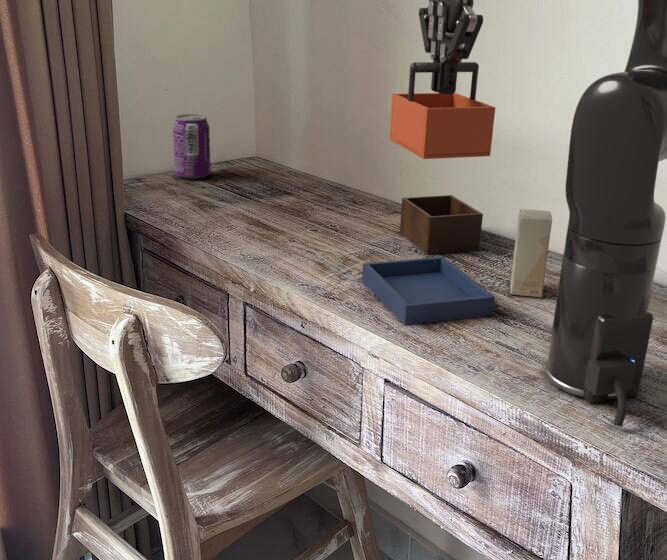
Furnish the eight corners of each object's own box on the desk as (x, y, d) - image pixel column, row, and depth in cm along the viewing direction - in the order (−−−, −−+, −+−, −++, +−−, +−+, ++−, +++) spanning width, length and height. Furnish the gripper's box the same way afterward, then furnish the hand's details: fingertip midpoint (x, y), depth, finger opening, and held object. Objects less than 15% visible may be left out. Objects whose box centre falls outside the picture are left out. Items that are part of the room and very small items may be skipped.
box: (541, 298, 111) (552, 221, 107) (509, 295, 112) (519, 218, 107) (540, 284, 116) (551, 210, 112) (509, 281, 116) (519, 207, 112)
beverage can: (217, 175, 165) (216, 116, 161) (194, 182, 160) (192, 121, 155) (191, 170, 169) (189, 112, 164) (167, 176, 163) (165, 117, 159)
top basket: (491, 156, 100) (500, 68, 96) (422, 159, 97) (429, 68, 93) (451, 137, 110) (458, 56, 106) (388, 139, 107) (393, 56, 103)
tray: (492, 315, 105) (495, 296, 104) (404, 325, 101) (406, 306, 100) (441, 273, 119) (442, 256, 118) (361, 280, 115) (362, 263, 114)
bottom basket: (479, 250, 129) (483, 213, 126) (427, 254, 126) (430, 217, 124) (448, 229, 138) (451, 194, 136) (399, 232, 135) (402, 197, 133)
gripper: (402, -60, 99) (394, 85, 106) (451, -61, 87) (438, 102, 94) (458, -57, 102) (446, 84, 108) (513, -58, 90) (496, 101, 96)
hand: (443, 92), depth 101 cm, fingers closed on top basket, 1 cm apart
